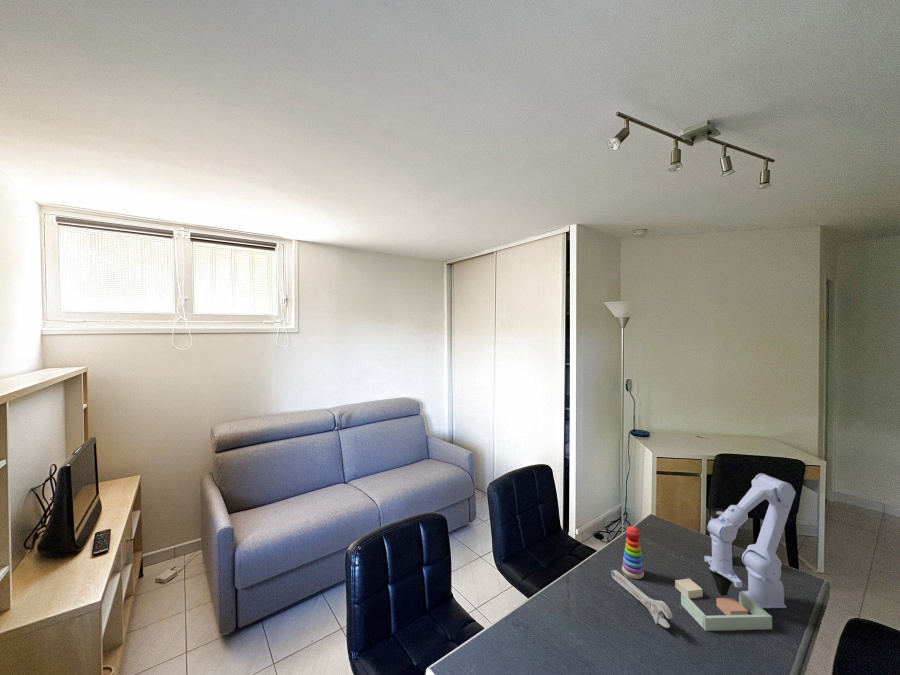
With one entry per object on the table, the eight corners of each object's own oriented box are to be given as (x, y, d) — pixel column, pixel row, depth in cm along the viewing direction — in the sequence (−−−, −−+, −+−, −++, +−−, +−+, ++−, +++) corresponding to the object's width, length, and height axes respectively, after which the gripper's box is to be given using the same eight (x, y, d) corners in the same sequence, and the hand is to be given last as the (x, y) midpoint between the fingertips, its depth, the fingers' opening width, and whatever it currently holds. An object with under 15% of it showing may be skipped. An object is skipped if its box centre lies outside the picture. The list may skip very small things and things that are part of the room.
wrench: (615, 583, 140) (674, 636, 111) (611, 584, 140) (669, 637, 110) (614, 562, 141) (672, 608, 112) (610, 562, 141) (667, 609, 111)
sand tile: (689, 586, 134) (689, 578, 134) (702, 597, 128) (702, 589, 129) (675, 588, 134) (675, 580, 134) (688, 599, 128) (688, 591, 128)
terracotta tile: (733, 606, 124) (733, 597, 124) (748, 619, 118) (747, 610, 118) (716, 606, 124) (716, 598, 124) (730, 620, 118) (730, 611, 118)
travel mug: (738, 564, 147) (737, 516, 147) (719, 564, 147) (718, 516, 147) (724, 553, 154) (723, 507, 155) (706, 553, 154) (705, 507, 155)
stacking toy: (617, 570, 144) (616, 524, 144) (631, 565, 147) (630, 519, 147) (634, 582, 136) (634, 533, 137) (648, 576, 140) (648, 528, 140)
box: (742, 602, 125) (741, 591, 125) (772, 629, 114) (772, 616, 114) (681, 604, 125) (680, 592, 125) (705, 630, 113) (705, 618, 113)
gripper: (696, 544, 133) (697, 580, 132) (727, 568, 118) (728, 609, 118) (714, 543, 133) (715, 580, 133) (747, 568, 118) (748, 609, 118)
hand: (722, 594), depth 125 cm, fingers closed
